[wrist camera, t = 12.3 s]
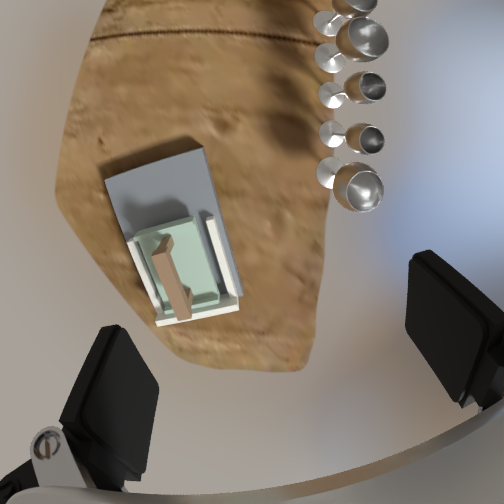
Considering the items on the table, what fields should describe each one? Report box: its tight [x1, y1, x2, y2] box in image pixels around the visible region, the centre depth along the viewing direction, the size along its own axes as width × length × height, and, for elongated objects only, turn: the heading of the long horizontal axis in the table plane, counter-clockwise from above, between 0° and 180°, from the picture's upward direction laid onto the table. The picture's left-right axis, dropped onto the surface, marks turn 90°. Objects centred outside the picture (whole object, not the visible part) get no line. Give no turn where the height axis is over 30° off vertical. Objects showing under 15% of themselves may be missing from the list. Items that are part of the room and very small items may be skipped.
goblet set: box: [313, 0, 389, 212], centre depth 31 cm, size 28×6×13 cm, turn 2°
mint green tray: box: [133, 215, 220, 321], centre depth 38 cm, size 12×8×8 cm, turn 13°
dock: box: [104, 147, 243, 326], centre depth 41 cm, size 22×14×6 cm, turn 13°
